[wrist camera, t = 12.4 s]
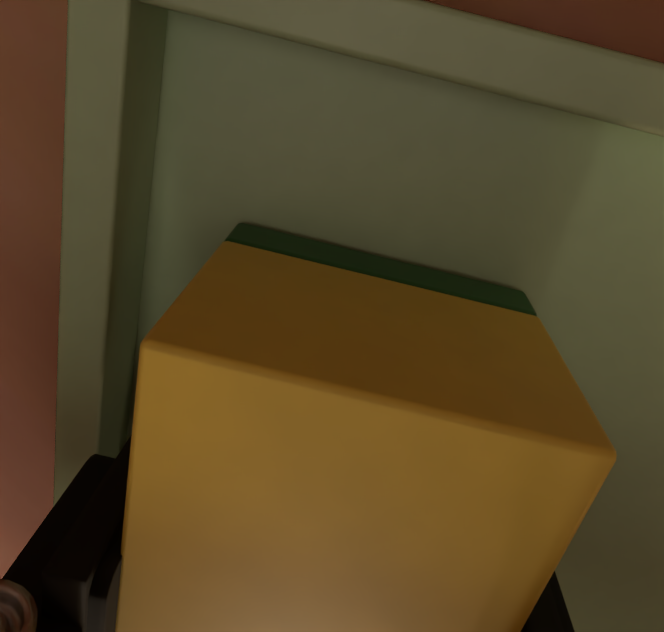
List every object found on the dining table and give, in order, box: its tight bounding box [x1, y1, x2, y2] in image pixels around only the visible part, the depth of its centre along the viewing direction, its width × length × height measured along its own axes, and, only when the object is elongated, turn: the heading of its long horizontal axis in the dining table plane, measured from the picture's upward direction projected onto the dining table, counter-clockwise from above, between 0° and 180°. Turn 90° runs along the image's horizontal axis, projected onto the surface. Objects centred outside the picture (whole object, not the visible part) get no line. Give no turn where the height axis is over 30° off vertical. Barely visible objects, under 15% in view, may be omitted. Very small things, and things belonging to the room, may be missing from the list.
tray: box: [53, 0, 664, 632], centre depth 11 cm, size 22×16×2 cm
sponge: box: [115, 223, 617, 632], centre depth 10 cm, size 5×9×4 cm, turn 167°
